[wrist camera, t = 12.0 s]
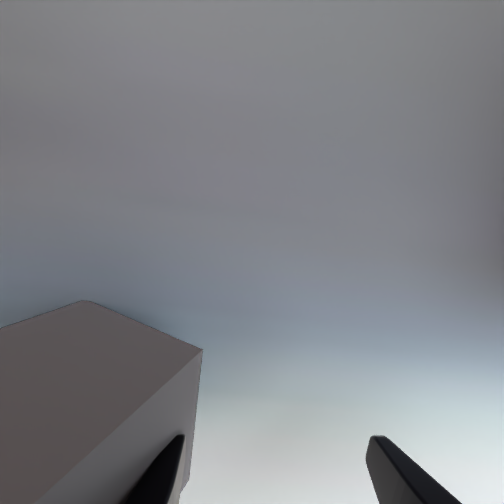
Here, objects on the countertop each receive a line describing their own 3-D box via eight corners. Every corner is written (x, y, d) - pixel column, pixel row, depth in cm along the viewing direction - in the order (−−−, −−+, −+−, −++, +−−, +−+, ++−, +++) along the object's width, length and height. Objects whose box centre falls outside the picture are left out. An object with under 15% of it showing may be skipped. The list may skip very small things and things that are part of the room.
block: (202, 349, 7) (-168, 687, 2) (189, 479, 8) (-68, 888, 3) (85, 299, 9) (-265, 418, 4) (88, 411, 10) (-178, 613, 5)
